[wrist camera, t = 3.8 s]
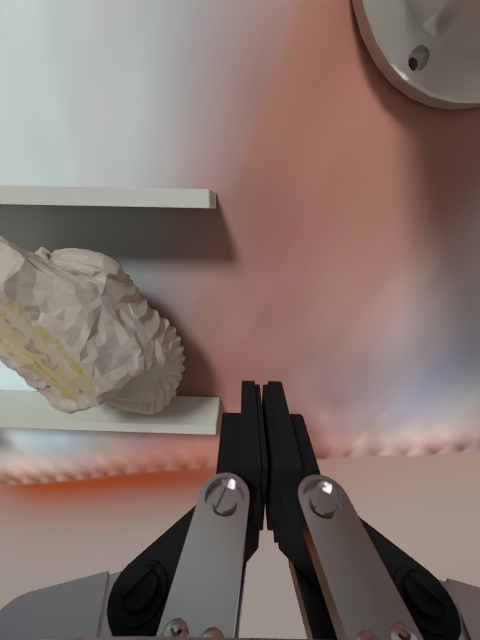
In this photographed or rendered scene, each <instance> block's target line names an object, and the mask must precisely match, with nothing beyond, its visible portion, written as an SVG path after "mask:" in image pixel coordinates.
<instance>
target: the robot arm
mask: <svg viewBox="0 0 480 640" xmlns="http://www.w3.org/2000/svg"><path fill="white" fill-rule="evenodd" d="M352 3H353V8H354V11H355V15H356V19H357V22H358V26H359V30H360V33H361V37H362V39H363V41H364V43H365V45H366V47H367V49H368V51H369V53H370V55H371V58H372V60H373V62H374V63H375V65H376V66H377V67H378V69H379V70H380V71H381V72H382V74H383V75H384V76H385V77H386V79H387V80H388V81H389V82H390V84H392V85H393V86H394V87H396V88H397V89H398V90H400V91H401V92H402V93H403V94H405V95H406V96H407V97H409V98H410V99H413V100H415V101H418V102H420V103H423V104H425V105H427V106H430V107H436V108H443V109H450V110H459V109H469V108H479V107H480V0H352ZM409 63H410V64H411V66H412V70H411V69H410V67H409ZM265 507H266V519H267V529H268V530H273V533H274V542H275V543H278V545H279V549H280V550H281V551H282V552H283V553H284V555H285V556H286V557H287V558H288V561H289V568H290V572H291V576H292V579H293V584H294V588H295V592H296V596H297V600H298V603H299V608H300V611H301V615H302V619H303V623H304V627H305V631H306V635H307V639H266V638H239V630H240V620H241V611H242V602H243V593H244V584H245V574H246V563H247V561H248V560H249V559H250V558H251V556H252V555H253V554H254V553H255V551H256V550H257V549H258V542H259V530H263V520H264V509H265ZM0 640H480V588H479V587H476V586H472V585H469V584H465V583H462V582H459V581H455V580H451V579H447V580H446V582H444V581H440V580H438V579H437V578H435V577H434V576H433V575H432V574H431V573H430V572H429V571H428V570H426V569H425V568H424V567H423V566H422V565H420V564H419V563H418V562H416V561H415V560H414V559H413V558H411V557H410V556H409V555H407V554H406V553H405V552H404V551H402V550H401V549H400V548H398V547H397V546H396V545H394V544H393V543H392V542H390V541H389V540H388V539H387V538H385V537H384V536H383V535H382V534H380V533H379V532H378V531H376V530H375V529H374V528H372V527H371V526H370V525H368V523H366V522H365V521H364V520H362V519H361V518H360V517H358V515H357V513H356V511H355V509H354V507H353V505H352V504H351V501H350V500H349V498H348V496H347V494H346V493H345V491H344V490H343V488H342V487H341V486H340V485H339V484H338V483H337V482H336V481H334V480H332V479H330V478H329V477H326V476H323V475H321V474H320V471H319V468H318V464H317V461H316V458H315V455H314V451H313V448H312V445H311V442H310V438H309V435H308V432H307V429H306V425H305V422H304V419H303V416H302V415H301V414H289V410H288V406H287V402H286V398H285V394H284V390H283V386H282V382H278V381H268V385H263V395H262V403H261V394H260V385H255V381H242V393H241V413H223V415H222V424H221V433H220V443H219V453H218V463H217V473H216V475H214V476H213V477H211V478H209V479H208V480H207V481H206V483H205V484H204V485H203V487H202V489H201V491H200V494H199V498H198V501H197V504H196V506H195V507H194V508H192V509H191V510H190V511H189V512H188V513H187V514H185V515H184V516H183V517H182V518H181V519H180V520H179V521H177V522H176V523H175V524H174V525H173V526H172V527H171V528H169V529H168V530H167V531H166V532H165V533H164V534H163V535H162V536H160V537H159V538H158V539H157V540H156V541H155V542H153V543H152V544H151V545H150V546H149V547H148V548H147V549H146V550H144V551H143V552H142V553H141V554H140V555H139V556H137V557H136V558H135V559H134V560H133V561H132V562H131V563H130V564H128V566H127V567H126V568H125V569H124V570H123V571H121V572H118V573H114V574H110V575H109V572H108V571H106V572H102V573H99V574H95V575H91V576H87V577H84V578H80V579H76V580H72V581H69V582H65V583H61V584H58V585H54V586H50V587H46V588H43V589H39V590H35V591H31V592H28V593H25V594H23V595H21V596H19V597H17V598H15V599H14V600H12V601H11V602H10V603H8V604H7V605H6V606H5V607H3V608H2V609H1V610H0Z"/></svg>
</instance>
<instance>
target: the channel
mask: <svg viewBox="0 0 480 640" xmlns="http://www.w3.org/2000/svg"><path fill="white" fill-rule="evenodd" d="M0 204H5V205H57V206H110V207H162V208H214V209H216V193H214V192H213V191H211V190H209V189H160V188H104V187H48V186H0ZM219 408H220V397H194V396H173V397H172V398H171V400H170V402H169V404H168V405H166V406H164V408H163V411H160V412H154V413H153V414H152V415H150V414H146V413H145V414H143V413H140V412H138V413H136V412H134V411H127V410H122V409H119V408H116V407H113V406H111V405H108V404H107V403H106V402H105V403H103V404H102V405H100V406H97V407H92V408H90V409H87V410H84V411H77V412H75V413H73V414H70V413H65V412H61V411H58V410H55V409H54V408H53V407H52V406H50V405H49V402H48V401H47V399H46V398H45V397H44V396H43V395H42V394H41V393H40V392H36V391H5V390H0V427H6V428H35V429H64V430H94V431H123V432H152V433H181V434H211V435H216V429H217V422H218V415H219Z"/></svg>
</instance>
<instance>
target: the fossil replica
mask: <svg viewBox="0 0 480 640" xmlns="http://www.w3.org/2000/svg"><path fill="white" fill-rule="evenodd" d="M180 342H181V337H179V336H178V335H176V329H175V327H171V326H170V324H169V320H167V319H165V318H161V317H160V316H159V314H158V312H157V310H154V309H151V308H150V307H149V305H148V303H147V300H146V299H144V298H141V296H140V294H139V291H138V287H137V286H135V285H133V281H132V280H131V279H130V276H129V275H127V274H125V273H124V272H123V269H122V267H121V266H120V265H119V264H118V263H117V262H116V261H115V260H113V259H112V258H111V257H109V256H106V255H104V254H102V253H99V252H93V251H91V250H89V249H78V248H64V249H60V250H55V251H54V252H52V253H51V252H49V251H48V250H47V249H45V248H44V247H40V248H39V249H37V250H36V251H35V253H33V252H28V251H26V250H24V249H22V248H20V247H18V246H17V245H15V244H13V243H12V242H10V241H8V240H7V239H5V238H4V237H2V236H0V360H1V361H2V362H3V363H4V364H5V365H6V366H7V367H8V368H10V369H12V370H14V371H16V372H17V373H18V375H19V376H21V377H23V378H24V379H25V381H26V383H27V385H29V386H31V387H33V388H34V389H36V390H38V391H39V392H40V393H41V394H42V395H43V396H44V397H45V398H46V399H47V401H48V402H49V405H50V406H52V407H53V408H54V409H55V410H58V411H61V412H65V413H70V414H73V413H75V412H77V411H84V410H87V409H90V408H92V407H97V406H100V405H102V404H103V403H105V402H106V403H107V404H108V405H111V406H113V407H116V408H119V409H122V410H127V411H134V412H136V413H138V412H140V413H143V414H145V413H146V414H150V415H152V414H153V413H154V412H160V411H163V408H164V406H166V405H168V404H169V402H170V400H171V398H172V397H173V396H175V395H176V388H177V387H178V385H179V384H180V381H181V380H182V378H183V377H182V375H181V372H183V371H184V370H185V367H184V366H183V362H184V360H185V359H186V358H185V357H184V355H183V354H182V353H183V350H184V347H183V346H181V345H180Z"/></svg>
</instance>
